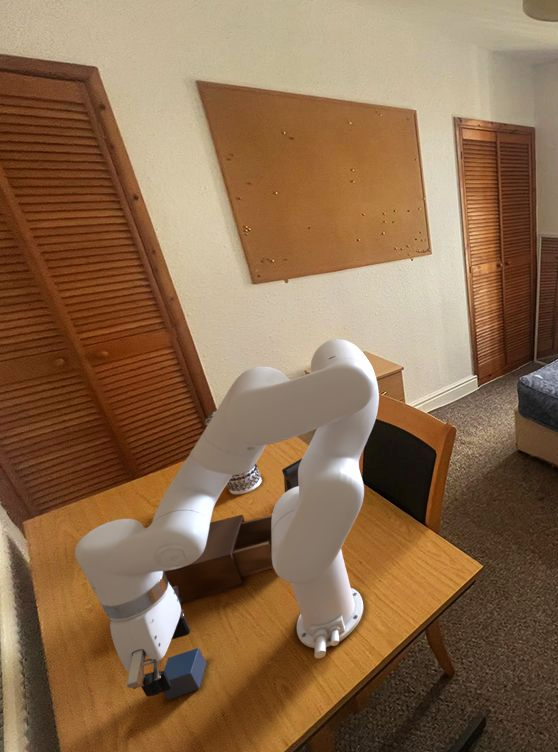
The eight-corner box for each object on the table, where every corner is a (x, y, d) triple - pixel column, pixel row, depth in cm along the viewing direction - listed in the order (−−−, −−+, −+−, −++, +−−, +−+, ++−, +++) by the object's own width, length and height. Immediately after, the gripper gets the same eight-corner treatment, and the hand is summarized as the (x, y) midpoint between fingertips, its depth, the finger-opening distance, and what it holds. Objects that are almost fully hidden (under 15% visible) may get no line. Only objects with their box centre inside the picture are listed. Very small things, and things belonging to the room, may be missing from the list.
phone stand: (323, 496, 117) (314, 462, 112) (304, 509, 112) (294, 474, 107) (304, 486, 121) (295, 453, 116) (285, 498, 116) (274, 464, 111)
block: (199, 689, 71) (190, 673, 70) (167, 700, 70) (158, 684, 68) (206, 663, 75) (198, 647, 73) (177, 673, 74) (168, 657, 72)
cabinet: (253, 543, 101) (242, 514, 97) (243, 585, 90) (230, 554, 86) (183, 562, 96) (169, 532, 92) (164, 608, 85) (147, 576, 82)
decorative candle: (251, 495, 117) (225, 421, 108) (220, 495, 118) (192, 421, 108) (269, 475, 126) (247, 405, 116) (240, 475, 126) (215, 405, 116)
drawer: (310, 527, 105) (303, 504, 101) (307, 561, 95) (300, 536, 92) (232, 548, 99) (222, 524, 96) (220, 586, 89) (209, 561, 86)
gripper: (130, 557, 69) (162, 624, 76) (74, 654, 54) (119, 727, 61) (183, 544, 72) (210, 610, 78) (142, 634, 57) (179, 706, 64)
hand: (170, 661), depth 70 cm, fingers open, 9 cm apart
